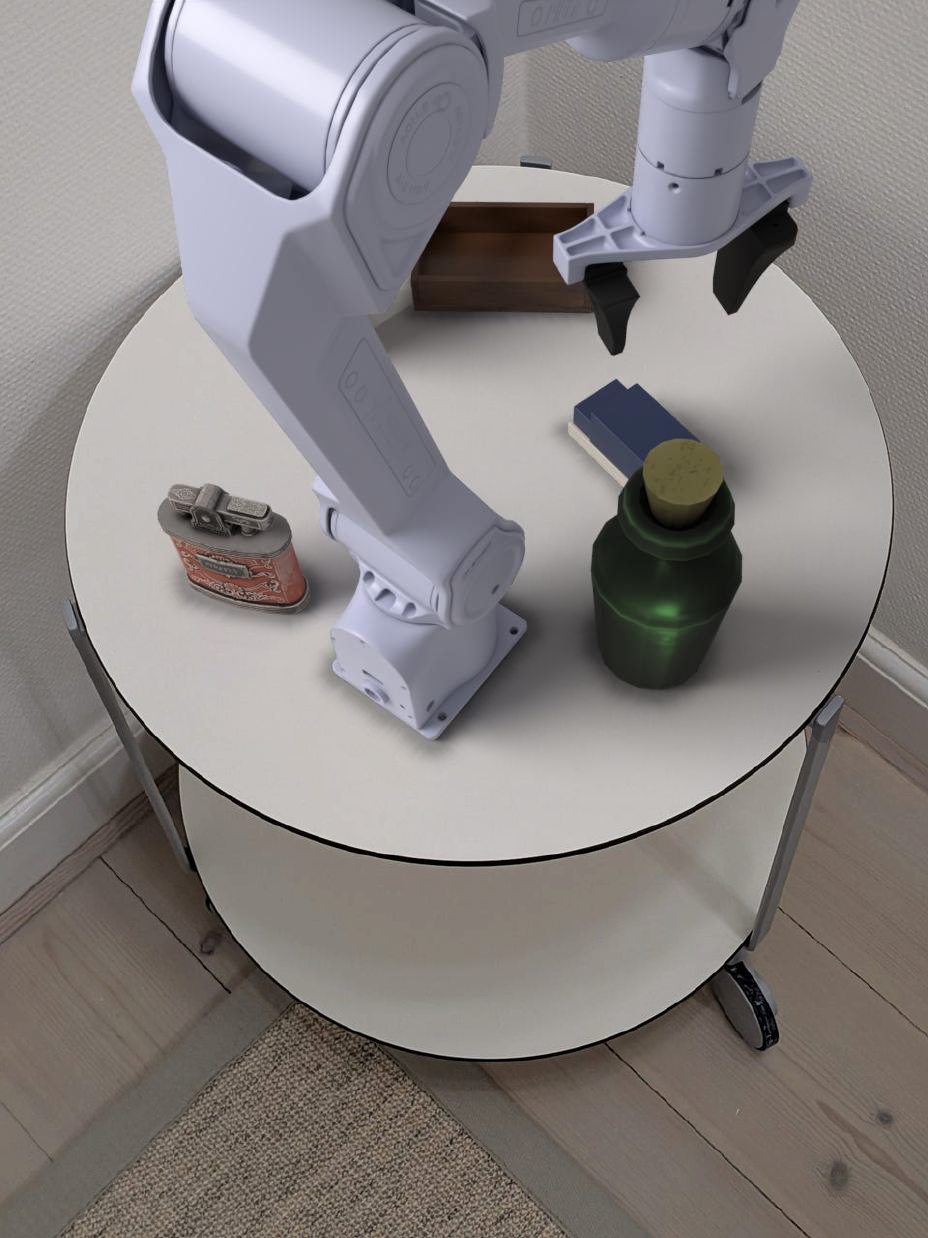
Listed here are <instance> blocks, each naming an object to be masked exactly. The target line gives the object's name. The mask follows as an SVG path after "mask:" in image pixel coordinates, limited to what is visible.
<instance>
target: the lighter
mask: <svg viewBox="0 0 928 1238" xmlns="http://www.w3.org/2000/svg"><path fill="white" fill-rule="evenodd" d="M166 496H167V497H166V498H164V499H163V501H162V502H161V503H160V505H159V506H158V509H157V514H156V515H157V521H158V524H159V525H160V527H161V529H162V530H163V533H165V534H167V535H168V536H169V538H170V540H171V543H172V545H173V546H174V548H175V551H176V553H177V555H178V556H179V558H180V560H181V563H182V565H183V566H184V568H185V577H186V580H187V581H188V584H189V585H190V587H191V589H192V590H193V591H195V592H197V593H199V594H201V595H203V596H205V597H206V598H209V599H211V600H213V601H215V602H219V603H222V604H225V605H228V606H231V607H234V608H236V609H241V610H246V611H252V612H257V613H261V614H263V613H264V614H277V615H295V614H297V613H299V612H301V611H302V610H303V609H305V607H307V605H308V603H309V601H310V599H311V593H312V592H311V587H310V584H309V581H308V579H307V577H306V575H304V574H303V573H302V572H303V571H302V569H301V566H300V562H299V560H298V557H297V554H296V551H295V547H294V545H293V542H292V540H293V533H292V529H291V526H290V523H289V521H288V520H287V518H286V517H284V516H283V515H281V514H279V513H277V512H274V511H273V509H272V507H271V505H270V504H269V503H265V502H261V501H258V500H254V499H253V500H252V499H250V498H249V499H248V498H244V497H240V496H235V495H232V494H230V493H229V492H227V491H226V490H225V489H223V488H222V487H220V486H219V485H216V484H212V483H204V484H203V485H201V486H199V487H197V486H193V485H189V484H185V483H180V482H177V483H174V484H171V486H170V487H169V489H168V492H167V494H166Z"/></svg>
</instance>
